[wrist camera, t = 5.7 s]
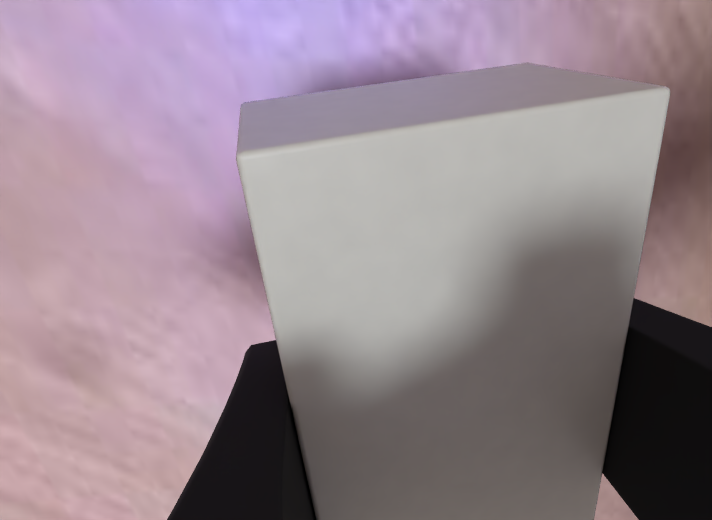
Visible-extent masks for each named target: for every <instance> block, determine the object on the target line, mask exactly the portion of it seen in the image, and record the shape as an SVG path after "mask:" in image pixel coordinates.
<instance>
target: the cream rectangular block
mask: <svg viewBox="0 0 712 520" xmlns="http://www.w3.org/2000/svg"><path fill="white" fill-rule="evenodd" d="M669 98H670V89H669V88H668V87H665V86H661V85H655V84H649V83H643V82H637V81H631V80H626V79H620V78H614V77H608V76H602V75H596V74H591V73H585V72H579V71H573V70H567V69H561V68H555V67H550V66H544V65H538V64H532V63H521V64H514V65H507V66H500V67H493V68H486V69H479V70H472V71H464V72H457V73H450V74H443V75H436V76H429V77H422V78H415V79H408V80H401V81H393V82H386V83H379V84H372V85H365V86H358V87H351V88H344V89H337V90H330V91H322V92H315V93H308V94H301V95H294V96H287V97H280V98H273V99H266V100H259V101H251V102H244V103H243V104H241V108H240V118H239V130H238V142H237V154H236V161H237V166H238V170H239V175H240V179H241V184H242V188H243V193H244V197H245V202H246V206H247V211H248V215H249V220H250V224H251V229H252V233H253V238H254V242H255V247H256V251H257V256H258V260H259V265H260V269H261V274H262V278H263V283H264V287H265V292H266V296H267V301H268V305H269V310H270V314H271V319H272V323H273V328H274V332H275V337H276V341H277V346H278V350H279V355H280V359H281V364H282V368H283V373H284V377H285V382H286V386H287V391H288V396H289V400H290V405H291V409H292V414H293V418H294V423H295V427H296V432H297V436H298V441H299V445H300V450H301V454H302V459H303V463H304V468H305V472H306V477H307V481H308V486H309V490H310V495H311V499H312V504H313V508H314V513H315V517H316V520H594V516H595V510H596V504H597V499H598V493H599V488H600V482H601V477H602V471H603V465H604V460H605V454H606V449H607V443H608V438H609V432H610V427H611V421H612V415H613V410H614V404H615V399H616V393H617V388H618V382H619V376H620V371H621V365H622V360H623V354H624V349H625V343H626V337H627V332H628V326H629V321H630V315H631V310H632V304H633V298H634V293H635V287H636V282H637V276H638V271H639V265H640V259H641V254H642V248H643V243H644V237H645V232H646V226H647V220H648V215H649V209H650V204H651V198H652V193H653V187H654V181H655V176H656V170H657V165H658V159H659V154H660V148H661V142H662V137H663V131H664V126H665V120H666V115H667V109H668V103H669Z"/></svg>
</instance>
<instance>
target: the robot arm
mask: <svg viewBox="0 0 712 520" xmlns="http://www.w3.org/2000/svg"><path fill="white" fill-rule="evenodd" d="M602 473H603V474H604V476H605V477H606V478H607V479H608V481H609V482H610V483H611V485H612V486H613V487H614V488H615V490H616V491H617V492H618V494H619V495H620V496H621V497H622V499H623V500H624V501H625V503H626V504H627V505H628V506H629V508H630V509H631V510H632V512H633V513H634V514H635V515H636V517H637V518H638V519H639V520H712V327H709V326H707V325H704V324H701V323H699V322H696V321H693V320H691V319H688V318H685V317H682V316H680V315H677V314H675V313H672V312H669V311H667V310H664V309H661V308H659V307H656V306H653V305H651V304H648V303H645V302H643V301H640V300H637V299H635V298H633V304H632V310H631V315H630V321H629V326H628V332H627V337H626V343H625V349H624V354H623V360H622V365H621V371H620V376H619V382H618V388H617V393H616V399H615V404H614V410H613V415H612V421H611V427H610V432H609V438H608V443H607V449H606V454H605V460H604V465H603V471H602ZM167 520H316V517H315V513H314V508H313V504H312V499H311V495H310V490H309V486H308V481H307V477H306V472H305V468H304V463H303V459H302V454H301V450H300V445H299V441H298V436H297V432H296V427H295V423H294V418H293V414H292V409H291V405H290V400H289V396H288V391H287V386H286V382H285V377H284V373H283V368H282V364H281V359H280V355H279V350H278V346H277V341H276V340H274V341H269V342H264V343H259V344H254V345H251V346H250V348H249V349H248V350H247V351H246V353H245V356H244V360H243V363H242V366H241V368H240V371H239V374H238V377H237V379H236V382H235V384H234V387H233V389H232V392H231V394H230V396H229V399H228V401H227V403H226V406H225V408H224V410H223V412H222V415H221V417H220V419H219V421H218V423H217V425H216V427H215V430H214V432H213V434H212V436H211V438H210V440H209V442H208V445H207V447H206V449H205V451H204V453H203V455H202V457H201V459H200V460H199V462H198V464H197V466H196V468H195V470H194V472H193V473H192V475H191V477H190V479H189V481H188V483H187V484H186V486H185V488H184V490H183V492H182V494H181V496H180V497H179V499H178V501H177V503H176V505H175V507H174V508H173V510H172V512H171V514H170V515H169V517H168V519H167Z"/></svg>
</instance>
